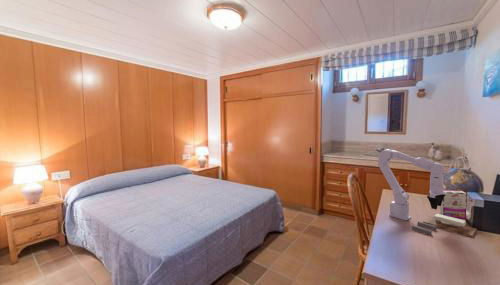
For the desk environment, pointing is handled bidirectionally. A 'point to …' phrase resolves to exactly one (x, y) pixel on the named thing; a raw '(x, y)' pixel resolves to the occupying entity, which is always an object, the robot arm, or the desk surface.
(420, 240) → the desk surface
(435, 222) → the peg stand
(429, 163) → the robot arm
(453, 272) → the desk surface
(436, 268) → the desk surface
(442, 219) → the shelf board
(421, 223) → the battens
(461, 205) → the candy bar box
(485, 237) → the desk surface
